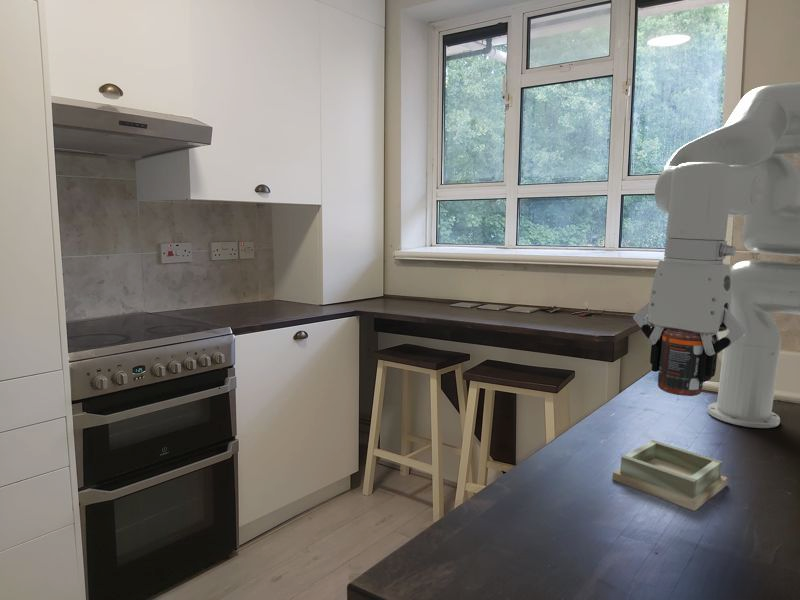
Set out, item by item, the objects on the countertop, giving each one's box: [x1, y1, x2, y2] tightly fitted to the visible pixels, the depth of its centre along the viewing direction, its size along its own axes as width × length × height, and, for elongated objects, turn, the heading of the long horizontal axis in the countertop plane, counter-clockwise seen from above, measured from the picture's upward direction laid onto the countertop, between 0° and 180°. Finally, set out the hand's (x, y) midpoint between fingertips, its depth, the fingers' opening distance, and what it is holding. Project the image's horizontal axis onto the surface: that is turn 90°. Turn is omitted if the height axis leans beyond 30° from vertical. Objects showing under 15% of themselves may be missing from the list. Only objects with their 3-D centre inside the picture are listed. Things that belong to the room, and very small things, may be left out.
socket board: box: [611, 439, 729, 512], centre depth 88 cm, size 12×12×4 cm
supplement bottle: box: [657, 328, 705, 397], centre depth 85 cm, size 6×6×11 cm
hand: (680, 374), depth 86 cm, fingers closed on supplement bottle, 6 cm apart
